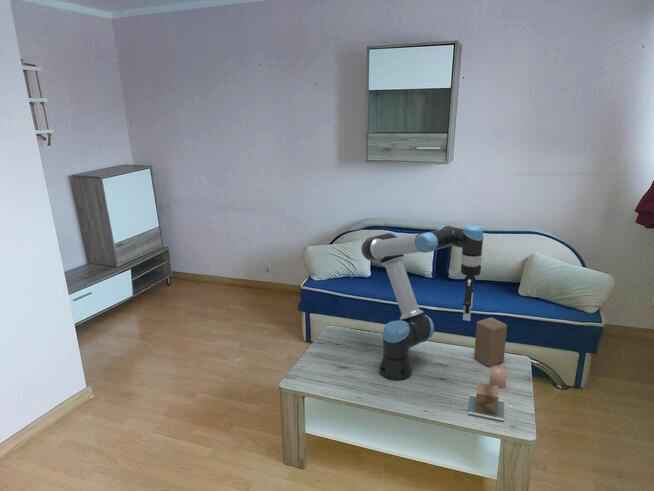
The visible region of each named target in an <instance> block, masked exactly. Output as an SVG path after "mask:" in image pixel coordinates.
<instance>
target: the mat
mask: <svg viewBox="0 0 654 491" xmlns="http://www.w3.org/2000/svg"><path fill="white" fill-rule="evenodd" d="M476 395H477V394H470V395H469V402H468V403H469V404H468V413H467V415H468V416H472V417H476V418H482V419H487V420H491V421H495V422H501V423H505V408H504V407H505V404H504V403H505V402H504V400H503V399H498V409H497V415H492V414H487V413H482V412H477V411H475V407H476Z"/></svg>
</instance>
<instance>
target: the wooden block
mask: <svg viewBox="0 0 654 491" xmlns="http://www.w3.org/2000/svg"><path fill="white" fill-rule="evenodd" d="M507 330H508V325H507V324H506V323H504V322H502V321H500V320H498V319H496V318H494V317H487V318H483V319H481V320H478V321H477V322H476V329H475V342H474V358H473V359H474V360H476V361H478V362H480V363H481V364H483V365H484V366H486V367H488V368H491V367H492V366H498V365H499V364H502V363H504V361H505V353H506V352H505V351H506V343H507V342H506V341H507V340H506V338H507Z"/></svg>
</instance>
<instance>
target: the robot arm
mask: <svg viewBox="0 0 654 491" xmlns="http://www.w3.org/2000/svg"><path fill="white" fill-rule="evenodd" d="M483 243H484V229H483V227H482V226H480V225H476V224H475V225H474V224H467V225H465V226H463V228H459V227H455V226H451V225H441V226H439V227H438V228H436V230H432V231H428V232H422V233H415V234H410V235H404V236H401V235H400V234H398V233H397V232H387V233H384V234H379V235H374V236H370V237H368V238H366V239H365V240H364V241H363V242H362V245H361V248H360V249H361V254H362V257H363V258H364V259H366V260H368V261H369V262H378V261H379V262H380V264H381V265H382V266H383V267H385V270H386V272H387V275H388V278H389V281H390V284H391V287H392V290H393V292H394V295H395V299H396V301H397V304H398V308H399V311H400V314H401V316H400V318H399V320H391V321H389V322H388V323H386V324H385V325H384V327H383V333H382V340H383V341H382V342H383V344H382V347H383V348H382V349H383V350H382V351H383V352H382V358H381V360H380V362H379V367H378V371H379V374H380V375H381V376H382V377H384V378H385V379H388V380H391V381H404V380H407V379H408V378H410V377H412V374H413V366H412V364H411V360H410V356H409V355H410V353H409V352H410V349H411V348H413V347H415V346H417V345H419V344H421V343H425V342H426V341H428V340H429V339H431V338H432V337H433V334H434V332H435V325H434V322H433V320H432V319H431V317H430V316H428V315H427V314H425V312H424V310H422V309H420V308H419V305H418V302H417V300H416V296H415V293H414V290H413V288H412V285H411V282H410V279H409V276H408V274H407V270H406V267H405V264H404V262H403V261H404V258H405V255H406V254H409V255H410V254H417V253H424V254H425V253H426V254H427V253H432V252H434V251H437V250H440V249H444V248H447V247H457V248H460V249H461V260H460V262H461V265H460V274H462V275H464V277H465V278H464V290H465V291H464V301H463V302H462V303H461V305H462V306H463V314H462V321H468V322H471V311H472V308H473V301H474V300H473V299H474V293H476V289H474V288H475V283H476V277H477V276H480V274H481V273H482V272H481V270H482V266H481V264H482V260H484V257H483V256H482V255H483V254H482V252H483Z"/></svg>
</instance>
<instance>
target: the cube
mask: <svg viewBox="0 0 654 491" xmlns="http://www.w3.org/2000/svg"><path fill="white" fill-rule="evenodd" d="M499 389H500V388H499V386H495V385H491V384H490V383H483V382H482V383H481V382H477V385H476V394H475V395H476V407H475V411H477V412H482V413H487V414H492V415H497V409H498V400H499V398H500V397H499V394H500V393H499Z"/></svg>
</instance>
